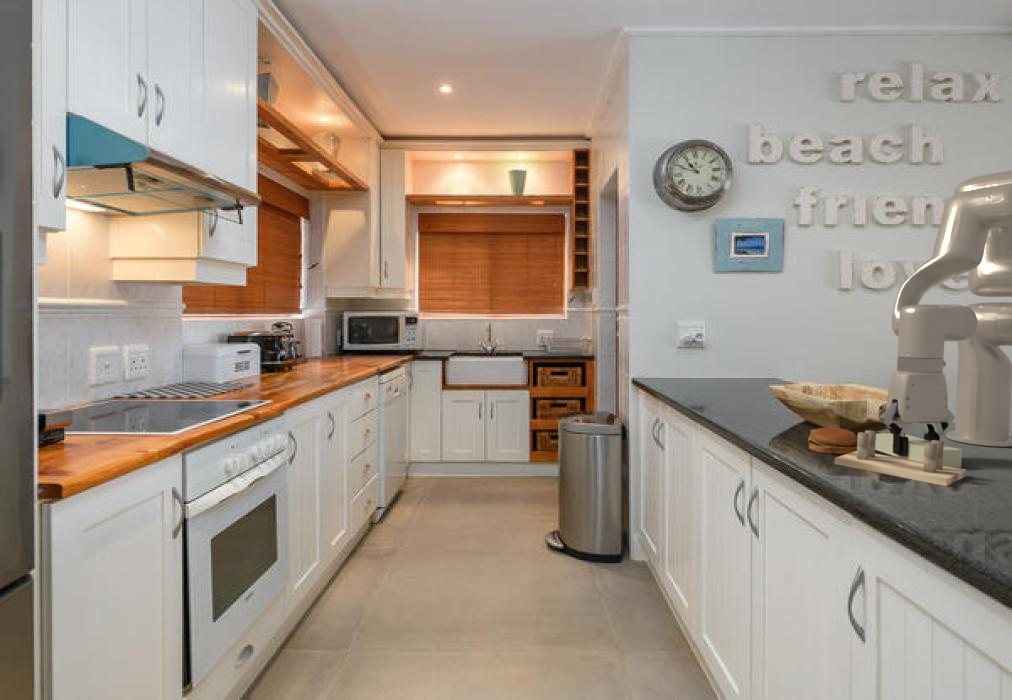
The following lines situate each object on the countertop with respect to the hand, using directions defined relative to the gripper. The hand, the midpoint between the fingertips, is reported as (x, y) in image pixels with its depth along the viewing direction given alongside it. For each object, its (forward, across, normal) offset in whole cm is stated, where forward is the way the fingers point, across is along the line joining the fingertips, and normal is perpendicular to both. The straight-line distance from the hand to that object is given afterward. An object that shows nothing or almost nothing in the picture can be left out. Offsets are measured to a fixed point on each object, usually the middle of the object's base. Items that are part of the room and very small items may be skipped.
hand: (915, 453), depth 116 cm
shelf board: (+1, 0, 0) cm, 1 cm away
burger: (+1, +12, -8) cm, 15 cm away
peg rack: (+1, +11, +8) cm, 13 cm away
